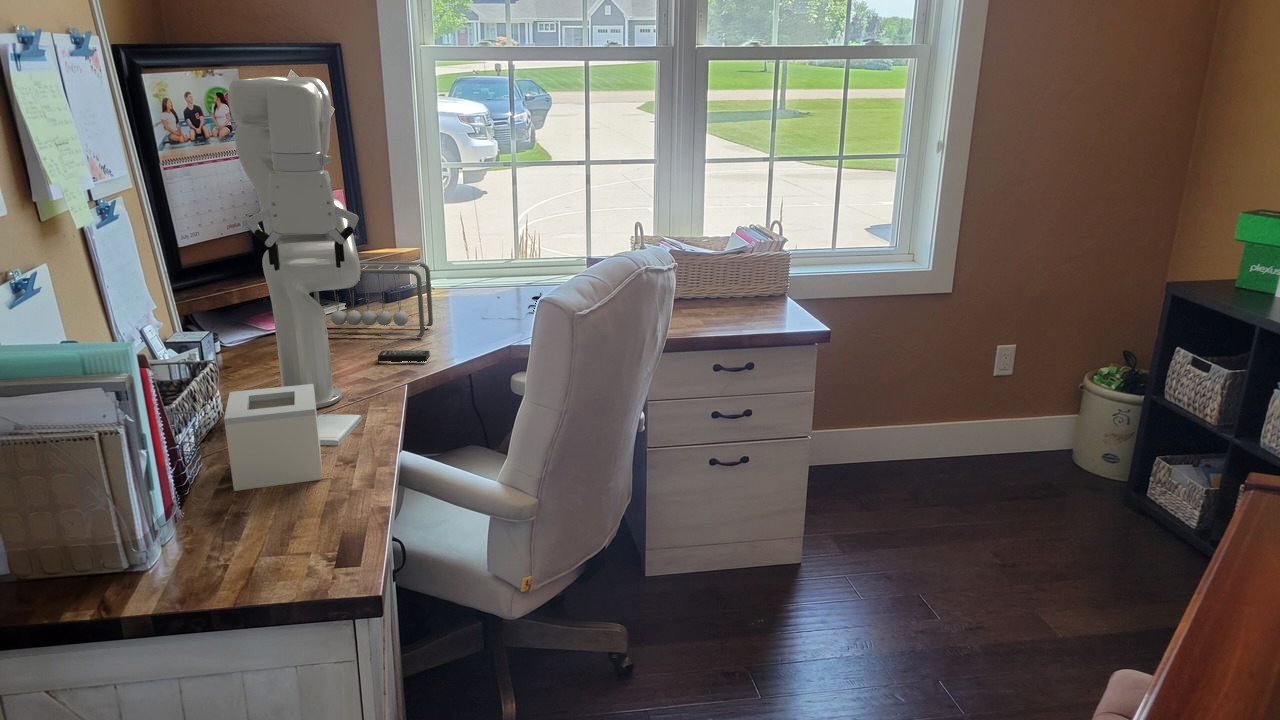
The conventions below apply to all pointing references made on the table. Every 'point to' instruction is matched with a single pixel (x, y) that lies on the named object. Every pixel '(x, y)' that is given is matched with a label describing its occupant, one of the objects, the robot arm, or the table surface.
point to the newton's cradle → (383, 316)
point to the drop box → (273, 436)
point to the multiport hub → (403, 356)
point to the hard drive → (336, 427)
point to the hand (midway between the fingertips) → (308, 267)
